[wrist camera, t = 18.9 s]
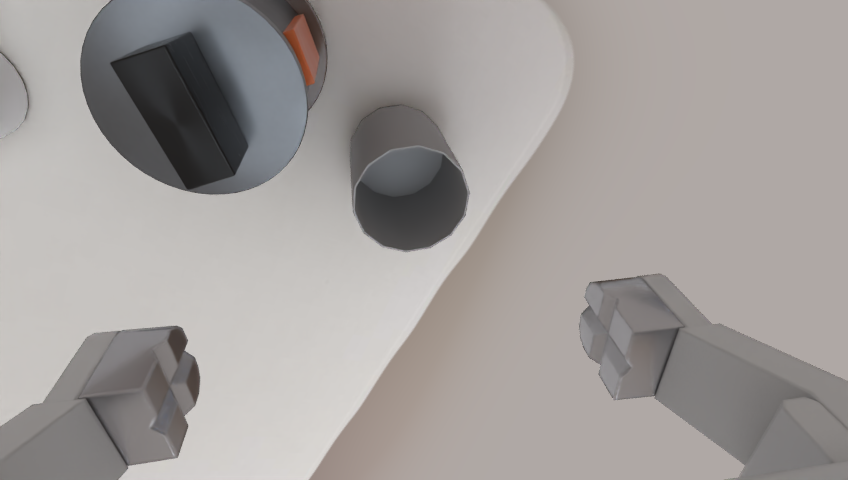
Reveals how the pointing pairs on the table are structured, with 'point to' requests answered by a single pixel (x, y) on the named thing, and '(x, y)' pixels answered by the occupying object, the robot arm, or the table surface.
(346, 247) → the table surface
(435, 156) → the cup
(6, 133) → the mug
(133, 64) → the bin
